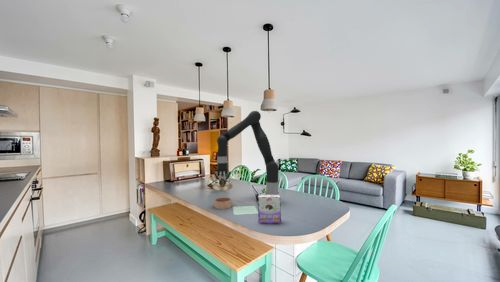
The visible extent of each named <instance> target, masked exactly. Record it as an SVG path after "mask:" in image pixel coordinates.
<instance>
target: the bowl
mask: <svg viewBox="0 0 500 282" xmlns="http://www.w3.org/2000/svg"><path fill="white" fill-rule="evenodd" d="M213 201H214V203H213V205H214V208H215V209H216V210H226V209H230V208H232V198H230V197H226V196H225V197H224V196H223V197H217V198H214V200H213Z"/></svg>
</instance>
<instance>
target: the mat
mask: <svg viewBox="0 0 500 282" xmlns="http://www.w3.org/2000/svg"><path fill="white" fill-rule="evenodd" d="M232 210H233V211H232V212H233V216H236V215H237V216H238V215H239V216H241V215H255V214H257V215H258V208H257V206H256V205H244V206H240V205H239V206H233V207H232Z"/></svg>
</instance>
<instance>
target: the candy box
mask: <svg viewBox="0 0 500 282" xmlns="http://www.w3.org/2000/svg"><path fill="white" fill-rule="evenodd" d="M281 202H282V201H281V195H280V194H279V195H267V194H258V196H257V206H258V207H257V211H258V214H257V216H258V224H279V225H280V224H282V209H281V204H282V203H281Z"/></svg>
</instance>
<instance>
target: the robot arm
mask: <svg viewBox="0 0 500 282" xmlns="http://www.w3.org/2000/svg"><path fill="white" fill-rule="evenodd" d="M261 117H262V115H261V113H260V111H258V110H252V111H251V112H249V114H248V115H247V116H245V118H243V120H242V121H240V122H239V123H236V124H235V125H234V126H232V127H230V128H229V129H228V130H227V131H226V132H224V133H222V134H221V135H219V136H218V137H217V138H216V142H217V150H216V151H217V155H216V156H217V157H216V158H217V159H216V163H217V164H216V165H217V167H216V171H214V172H213V175H214V176H215V178H216V180H218V183H219V184H220V185H221V179H222V176H223V179H224V185H225V184H226V182H227V180H228V179H230V178H229V177H230V176H231V174H232V172H231V171H229V170H228V154H227V152H228V151H227V149H228V148H227V147H228V142H229V141H230V140H232V139H234V138H235V137H237V136H238V135H239V134H241V133H242V132H243V131H244V130H246V129H247V128H249V127H251V130H252V132H253V135H254V138H255V141H256V144H257V147H258V150H259V151H260V154H261V155H262V157H263V160H264V165H265V168H266V169H265V170H266V180H265V181H266V183H265V185H266V188H265V189H266V195H280V192H279V165H278V163H277V162H276V161H275V159H274V157H273V154H272V149H271V145H270V141H269V139H268V136H267V135H266V133H265V131H264V130H263V129H262V126H261V122H260V120H261ZM218 175H219V176H218ZM226 175H227V176H226Z"/></svg>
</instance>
